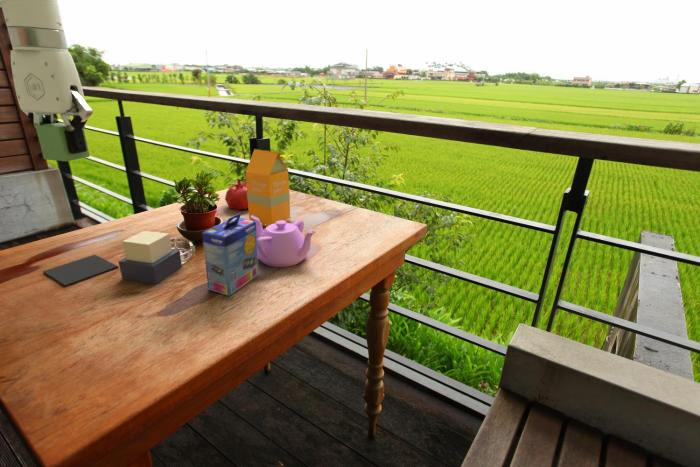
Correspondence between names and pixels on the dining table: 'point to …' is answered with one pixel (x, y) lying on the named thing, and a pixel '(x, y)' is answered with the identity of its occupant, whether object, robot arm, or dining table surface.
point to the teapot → (282, 243)
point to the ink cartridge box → (230, 254)
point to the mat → (80, 270)
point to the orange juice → (267, 187)
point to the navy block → (151, 268)
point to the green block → (57, 143)
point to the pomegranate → (237, 196)
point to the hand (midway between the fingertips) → (65, 150)
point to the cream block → (147, 246)
